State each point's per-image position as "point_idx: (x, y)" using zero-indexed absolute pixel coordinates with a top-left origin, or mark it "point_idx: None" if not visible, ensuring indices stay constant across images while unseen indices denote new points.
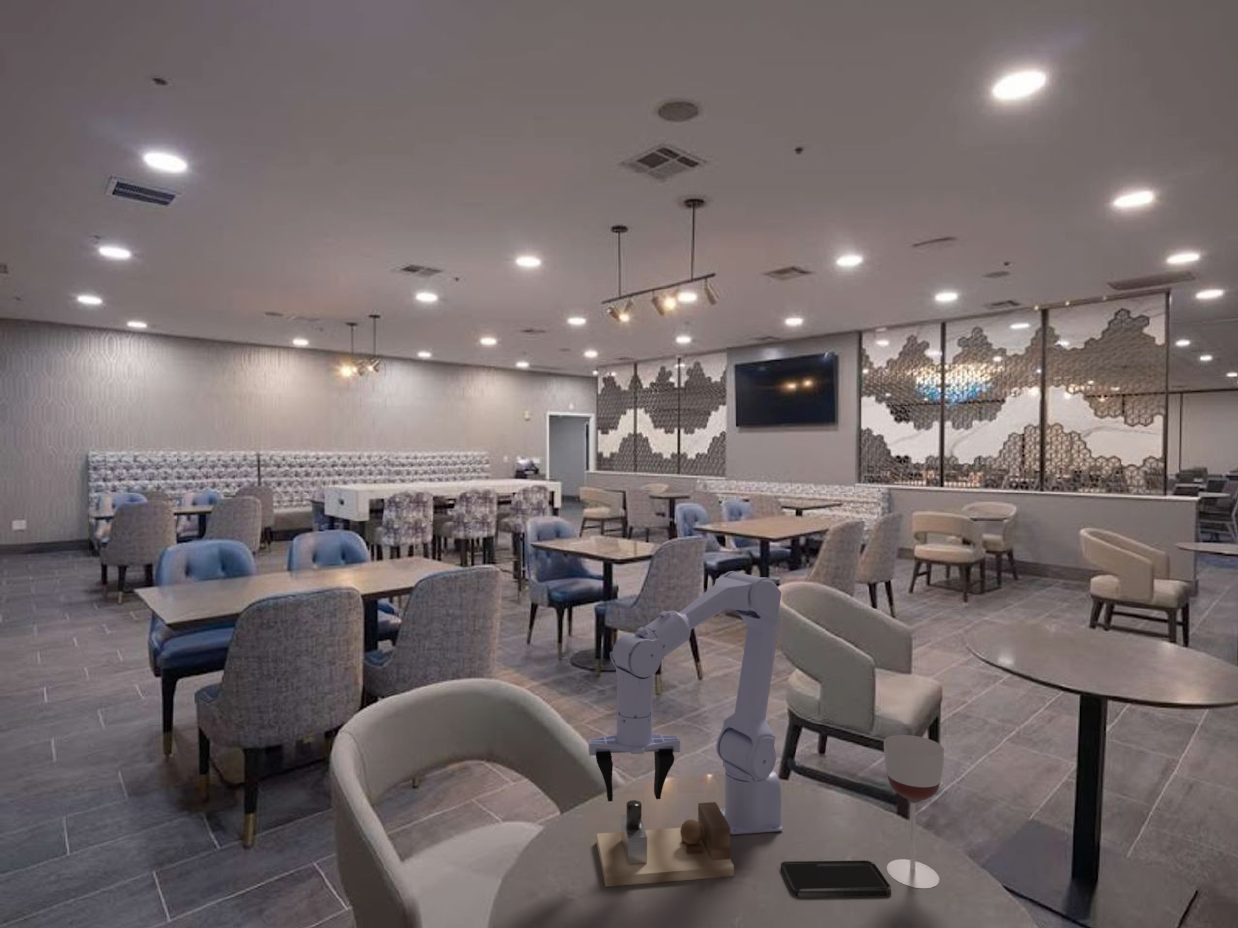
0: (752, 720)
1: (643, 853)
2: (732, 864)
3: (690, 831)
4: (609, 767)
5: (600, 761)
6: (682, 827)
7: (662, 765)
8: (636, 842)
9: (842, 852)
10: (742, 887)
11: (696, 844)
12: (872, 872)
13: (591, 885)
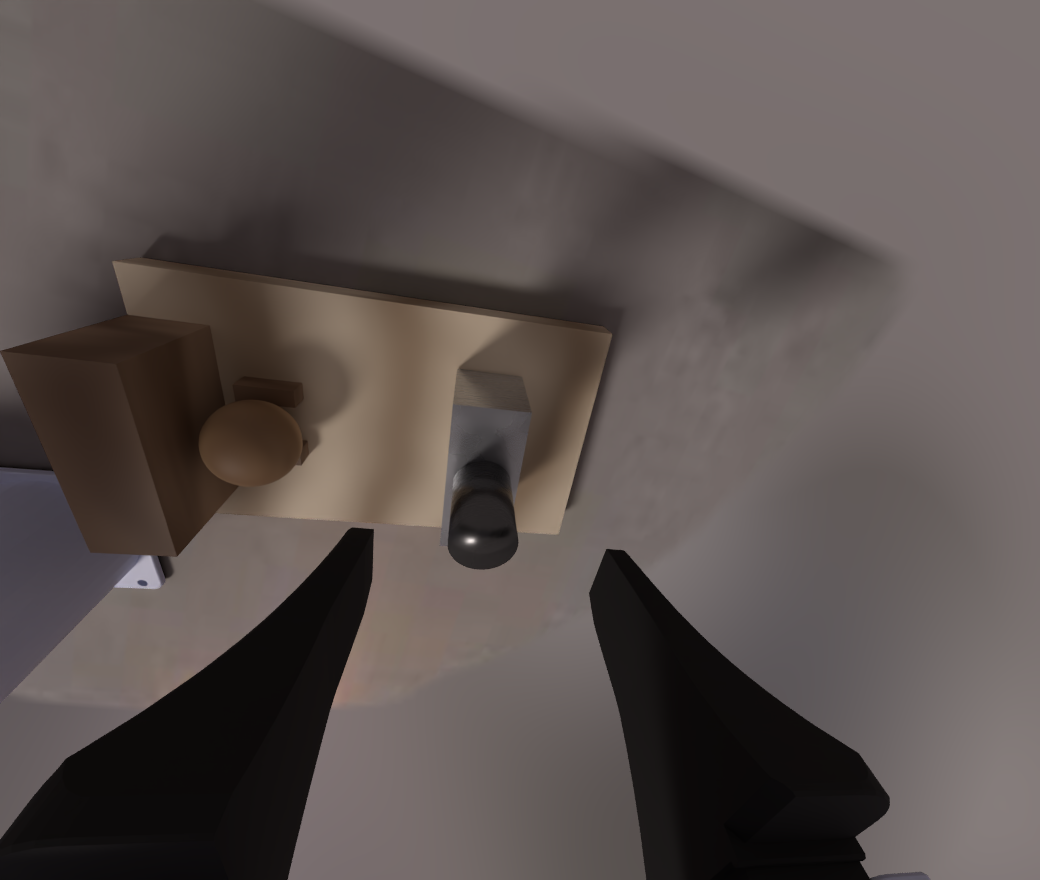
0: None
1: (469, 381)
2: (118, 274)
3: (252, 422)
4: (764, 738)
5: (865, 807)
6: (284, 455)
7: (228, 736)
8: (496, 401)
9: None
10: (108, 173)
11: None
12: None
13: (638, 344)
